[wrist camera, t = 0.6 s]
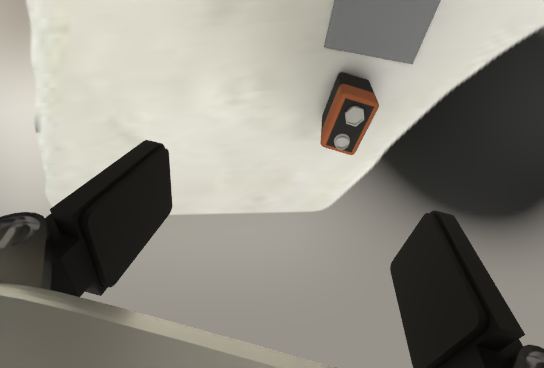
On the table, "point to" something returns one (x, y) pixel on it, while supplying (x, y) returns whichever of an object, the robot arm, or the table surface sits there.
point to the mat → (380, 27)
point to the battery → (348, 113)
